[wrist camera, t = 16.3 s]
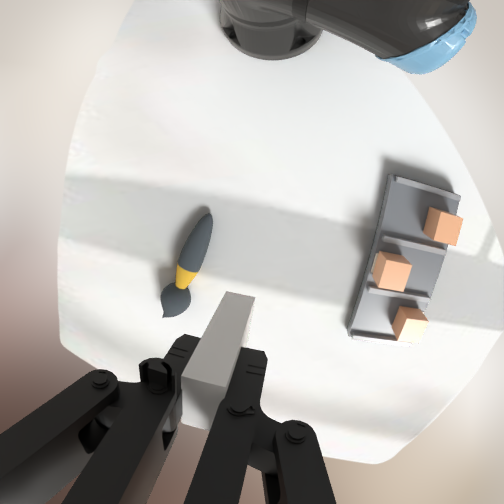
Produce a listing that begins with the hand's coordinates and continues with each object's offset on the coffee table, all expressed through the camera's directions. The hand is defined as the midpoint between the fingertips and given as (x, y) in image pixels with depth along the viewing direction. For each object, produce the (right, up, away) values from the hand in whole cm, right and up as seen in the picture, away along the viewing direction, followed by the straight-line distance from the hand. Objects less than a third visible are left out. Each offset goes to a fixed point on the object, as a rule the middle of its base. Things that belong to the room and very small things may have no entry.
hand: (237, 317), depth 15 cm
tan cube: (+26, -7, +27) cm, 38 cm away
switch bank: (+24, +1, +27) cm, 36 cm away
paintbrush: (-10, +1, +33) cm, 34 cm away
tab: (+28, +8, +22) cm, 36 cm away
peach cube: (+21, +1, +25) cm, 33 cm away
